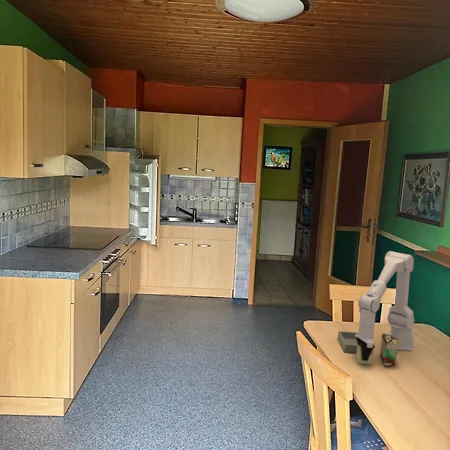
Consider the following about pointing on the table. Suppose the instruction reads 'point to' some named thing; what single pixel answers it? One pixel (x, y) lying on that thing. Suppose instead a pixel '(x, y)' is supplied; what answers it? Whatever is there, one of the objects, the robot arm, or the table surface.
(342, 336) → the bin
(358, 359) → the block
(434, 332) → the table surface
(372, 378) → the table surface
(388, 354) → the food container
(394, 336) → the robot arm
